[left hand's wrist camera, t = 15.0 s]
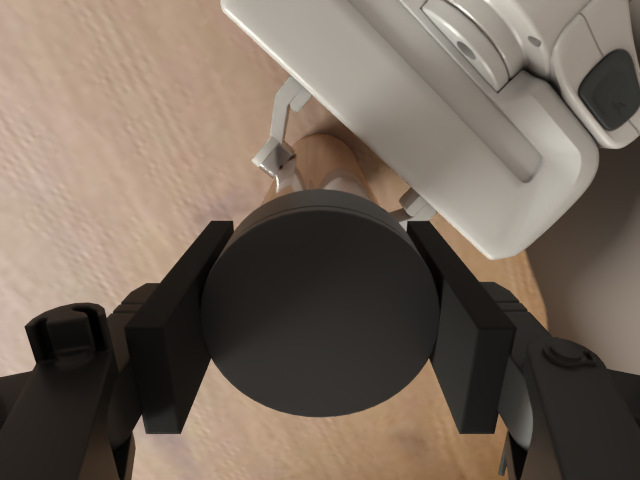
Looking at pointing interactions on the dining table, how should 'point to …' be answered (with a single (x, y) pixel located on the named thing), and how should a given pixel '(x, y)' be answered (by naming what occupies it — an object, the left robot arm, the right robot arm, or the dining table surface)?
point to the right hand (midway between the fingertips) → (310, 208)
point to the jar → (320, 169)
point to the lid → (320, 305)
